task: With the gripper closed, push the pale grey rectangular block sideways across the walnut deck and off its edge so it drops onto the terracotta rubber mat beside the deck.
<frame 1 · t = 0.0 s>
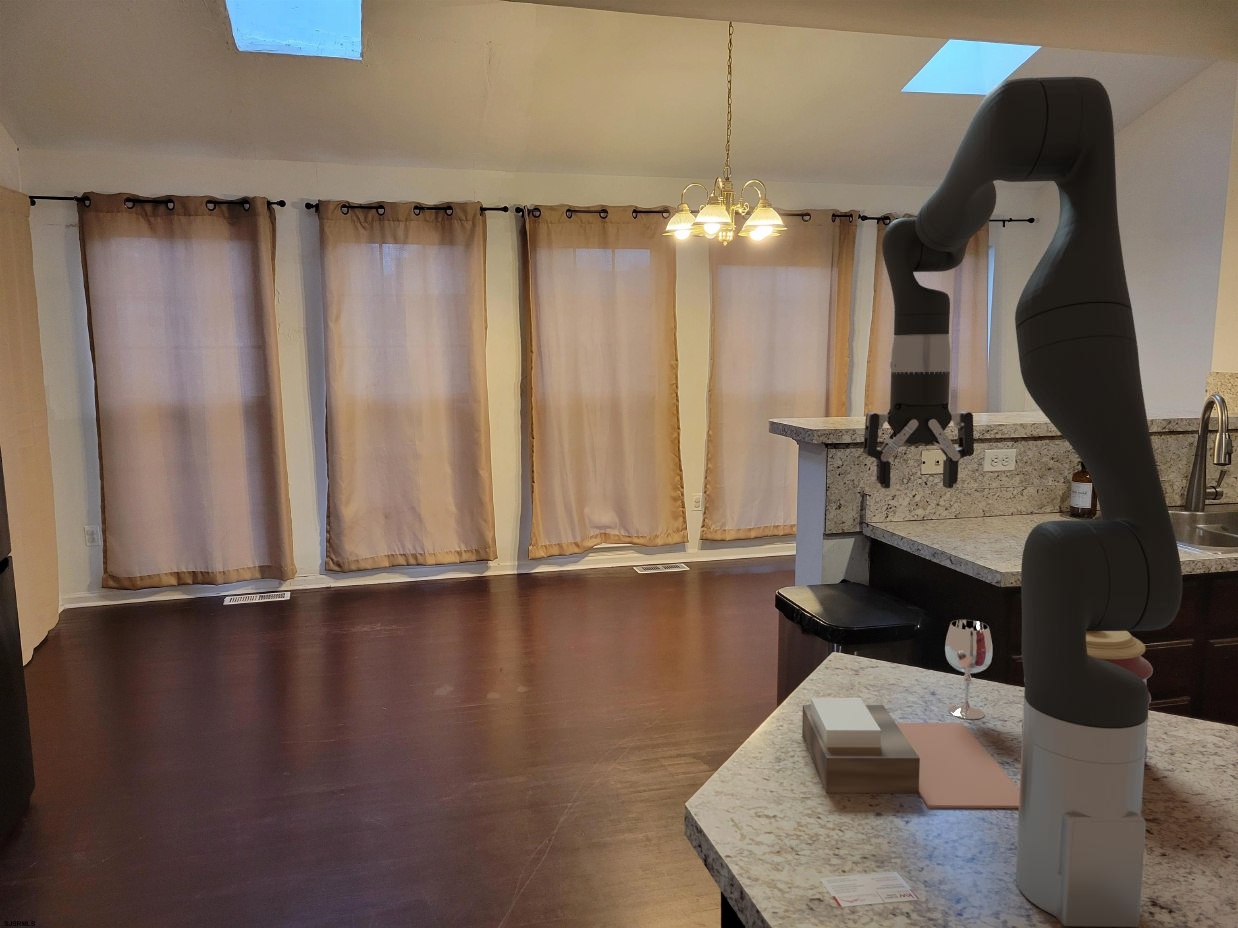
hand: (916, 487, 114), 29 cm above the countertop, fingers open, 8 cm apart
deck: (856, 761, 97), on the countertop
canister: (1081, 756, 98), on the countertop
wineglass: (966, 713, 110), on the countertop
mat: (946, 762, 97), on the countertop
pale grey rectangular block: (843, 729, 97), point 4 cm above the countertop, touching deck
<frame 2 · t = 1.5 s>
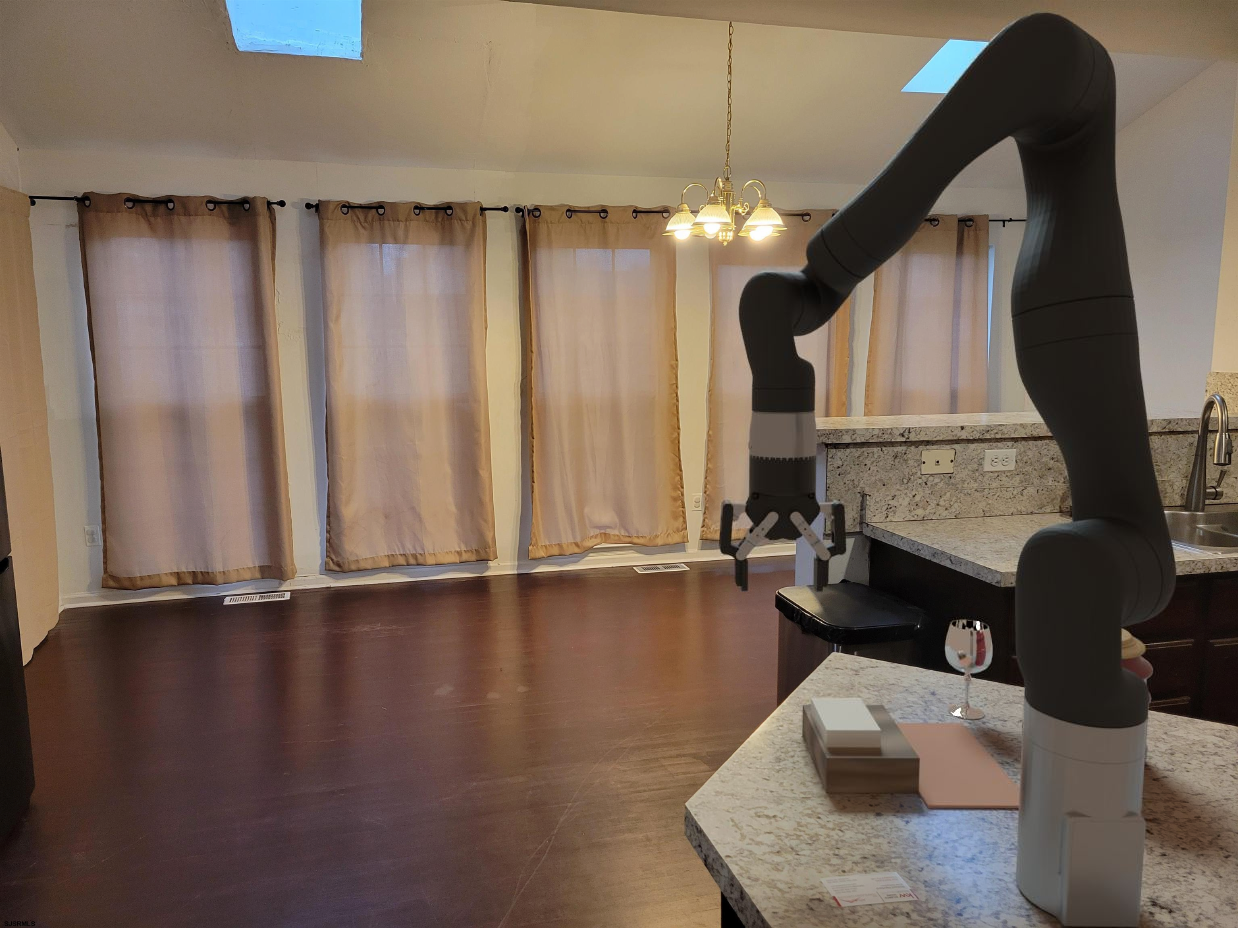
hand: (781, 589, 96), 20 cm above the countertop, fingers open, 8 cm apart
nothing on the countertop moved.
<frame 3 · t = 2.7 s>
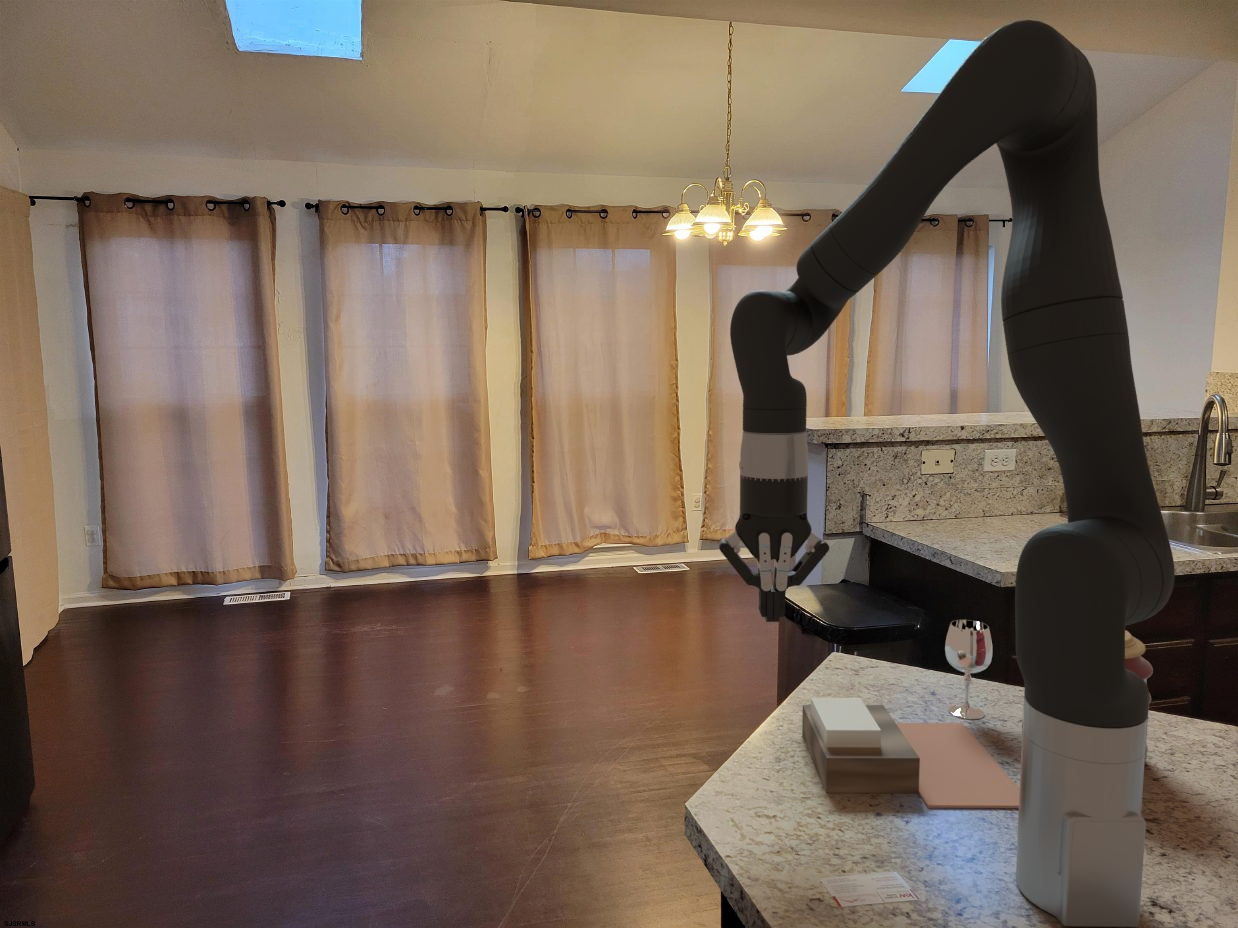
hand: (772, 619, 95), 17 cm above the countertop, fingers closed
nothing on the countertop moved.
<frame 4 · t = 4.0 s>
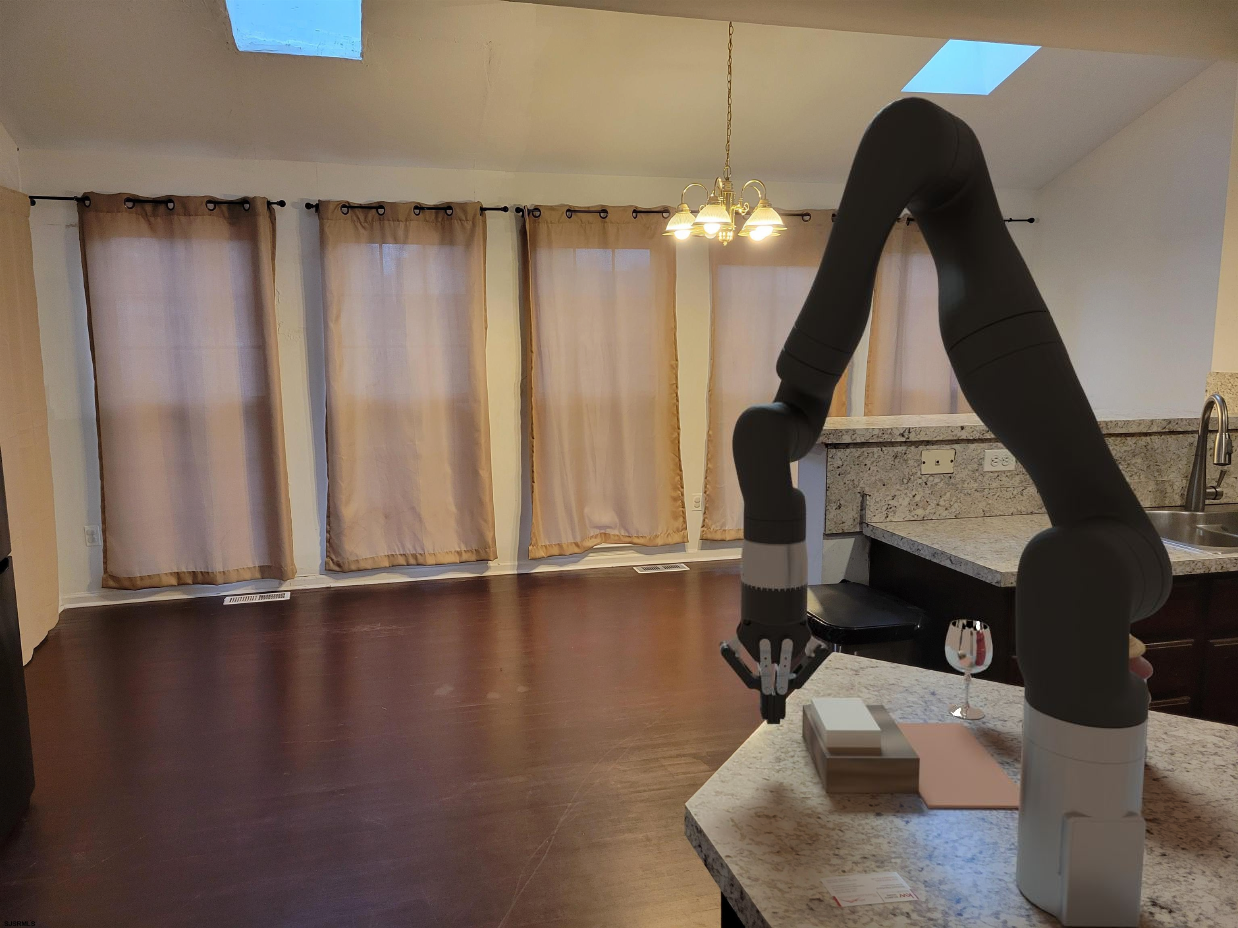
hand: (772, 721, 97), 5 cm above the countertop, fingers closed
nothing on the countertop moved.
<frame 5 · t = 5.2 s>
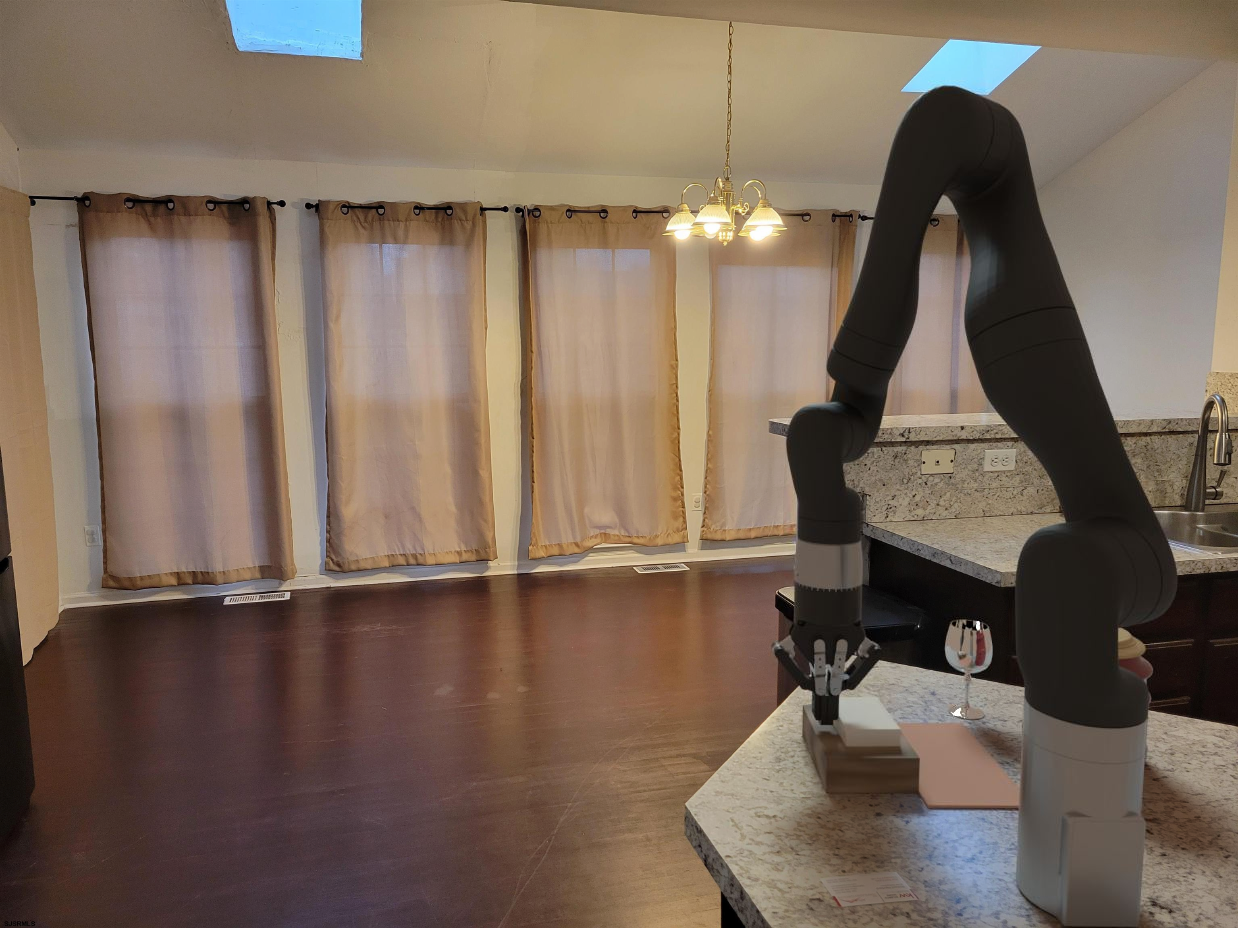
hand: (825, 722, 96), 5 cm above the countertop, fingers closed
pale grey rectangular block: (862, 728, 97), point 4 cm above the countertop, touching gripper
everything else where it was.
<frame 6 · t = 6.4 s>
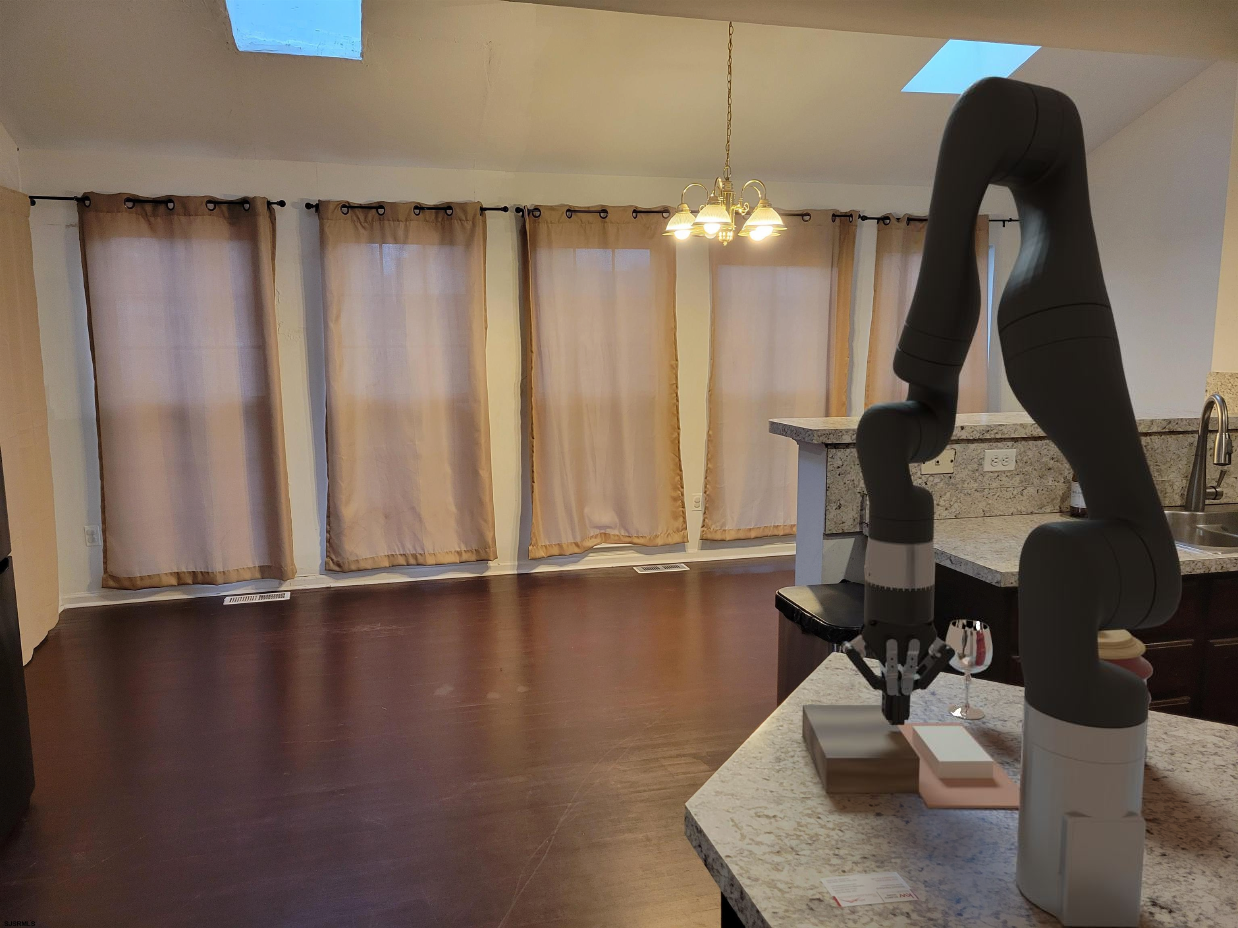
hand: (895, 722, 96), 5 cm above the countertop, fingers closed
pale grey rectangular block: (951, 742, 97), point 2 cm above the countertop, tilted 180°, touching mat
everything else where it was.
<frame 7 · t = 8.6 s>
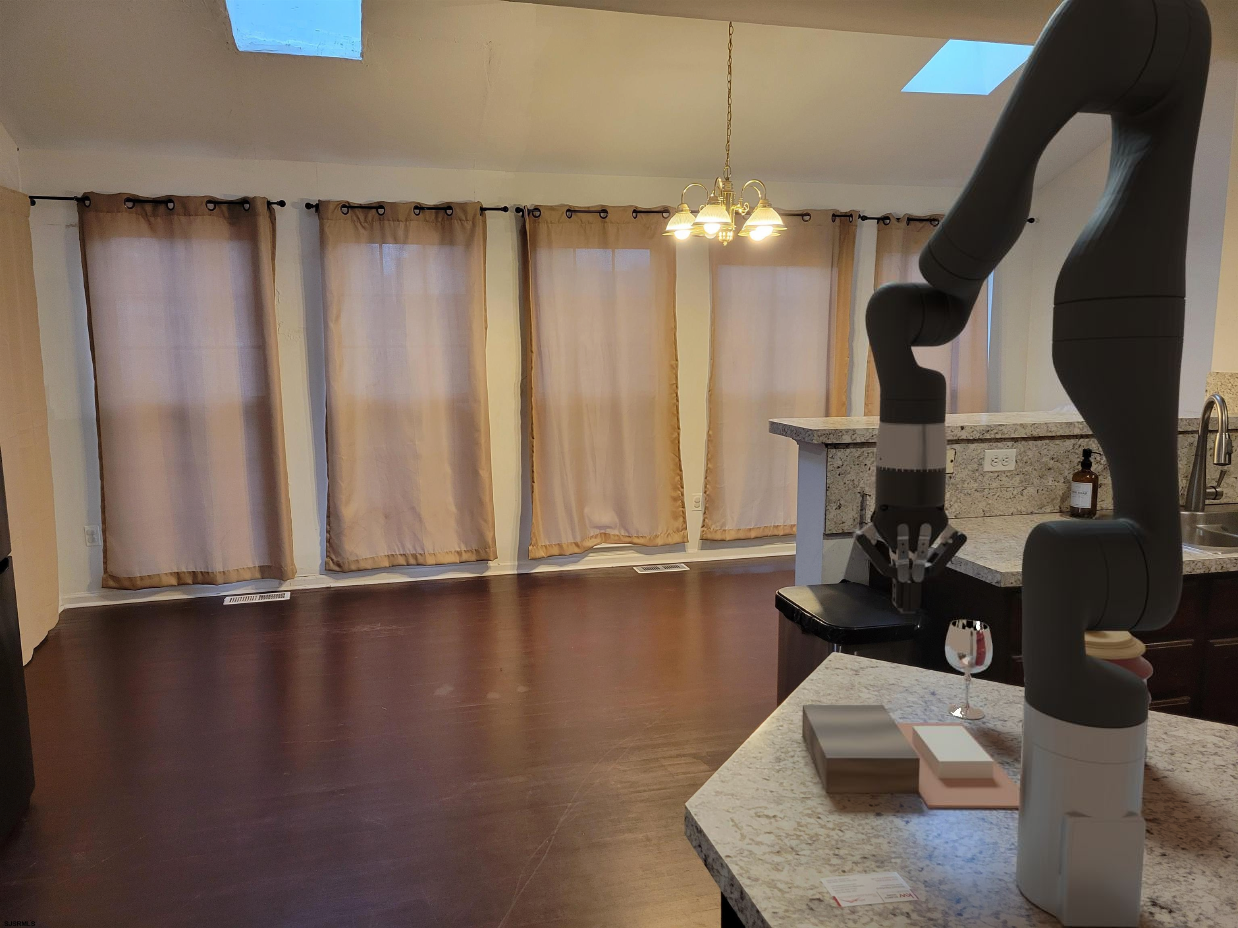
hand: (906, 611, 95), 18 cm above the countertop, fingers closed
nothing on the countertop moved.
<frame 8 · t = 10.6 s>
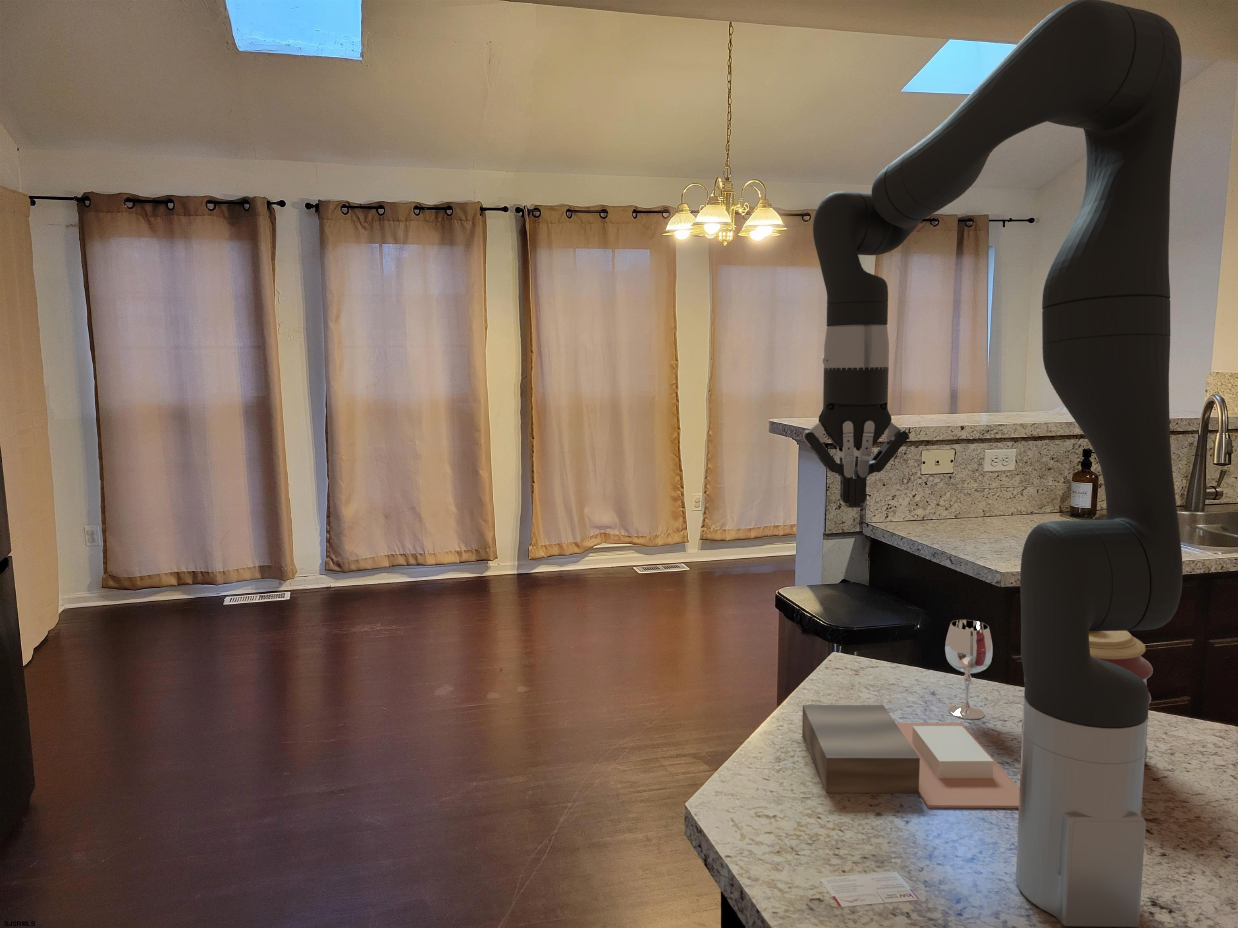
hand: (853, 506, 101), 29 cm above the countertop, fingers closed
nothing on the countertop moved.
at the end: pale grey rectangular block point 2.3 cm above the countertop; pale grey rectangular block inside the target area (0.5 cm from its centre), point 2.3 cm above the countertop; pale grey rectangular block touching mat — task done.
